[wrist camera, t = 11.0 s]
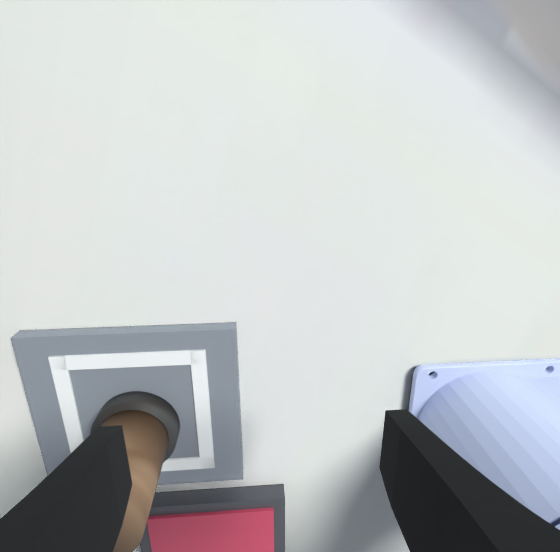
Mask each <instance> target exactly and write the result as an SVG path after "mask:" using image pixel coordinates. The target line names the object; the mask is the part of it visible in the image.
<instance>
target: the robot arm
mask: <svg viewBox="0 0 560 552" xmlns="http://www.w3.org/2000/svg"><path fill="white" fill-rule="evenodd" d="M547 367H548V368H547ZM546 368H547V369H546ZM433 371H434V373H433V374H432V375H429V373H431V372H433ZM380 471H381V474H382V478H383V481H384V485H385V488H386V491H387V495H388V498H389V501H390V504H391V507H392V509H393V512H394V514H395V517H396V519H397V522H398V524H399V526H400V529H401V531H402V533H403V536H404V538H405V541H406V543H407V545H408V548H409V550H410V552H560V358H556V359H535V360H514V361H493V362H472V363H451V364H429V365H420V366H418V367H416V369H415V370H414V372H413V380H412V387H411V395H410V403H409V411H408V410H407V409H406V410H387V411H386V412H385V421H384V431H383V440H382V450H381V459H380ZM131 488H132V479H131V473H130V467H129V462H128V456H127V450H126V445H125V439H124V433H123V427H122V425H117V426H99V427H98V428H97V429H96V430H95V431H93V432H92V433H91V434H90V435H89V436H88V437H87V438H86V439H85V440H84V441H83V442H82V443H81V444H80V445H79V446H78V447H77V448H76V449H75V450H74V451H73V452H72V453H71V454H70V455H69V456H68V457H67V458H66V459H65V460H64V461H63V462H62V463H61V464H60V465H59V466H58V467H57V468H55V469H54V470H53V471H52V472H51V473H50V474H49V475H48V476H47V477H46V478H45V479H44V480H43V481H42V482H41V483H40V484H39V485H38V486H37V487H36V488H34V489H33V490H32V491H31V492H30V493H29V494H28V495H27V496H26V497H25V498H24V499H22V500H21V501H20V502H19V503H18V504H17V505H16V506H15V507H13V508H12V509H11V510H10V511H9V512H8V513H7V514H6V515H4V516H3V517H2V518H1V519H0V552H113V550H114V547H115V544H116V542H117V539H118V536H119V533H120V530H121V527H122V524H123V520H124V517H125V513H126V509H127V505H128V501H129V496H130V492H131Z"/></svg>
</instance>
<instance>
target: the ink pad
mask: <svg viewBox="0 0 560 552" xmlns="http://www.w3.org/2000/svg"><path fill="white" fill-rule="evenodd" d="M140 544H141V550H142V552H285V496H284V485H283V484H279V485H264V486H249V487H235V488H220V489H205V490H191V491H176V492H161V493H155V494H154V498H153V502H152V505H151V509H150V512H149V516H148V520H147V523H146V527H145V531H144V534H143V538H142V540H141V542H140Z"/></svg>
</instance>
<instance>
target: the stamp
mask: <svg viewBox="0 0 560 552" xmlns="http://www.w3.org/2000/svg"><path fill="white" fill-rule="evenodd" d="M117 425H122V427H123V433H124V439H125V445H126V450H127V456H128V462H129V467H130V473H131V479H132V488H131V492H130V496H129V501H128V505H127V509H126V513H125V517H124V520H123V524H122V527H121V530H120V533H119V536H118V539H117V542H116V544H115V547H114V550H113V552H132V551H134V550H135V549H136V548H137V547H138V545H139V544H140V542H141V540H142V538H143V534H144V531H145V527H146V523H147V520H148V516H149V512H150V509H151V505H152V502H153V498H154V494H155V491H156V487H157V483H158V480H159V476H160V473H161V469H162V465H163V463H164V462H165V461H166V460H167V459H168V458H169V457H170V456H171V455H172V453H173V451H174V449H175V446H176V443H177V439H178V435H179V430H180V421H179V417H178V414H177V412H176V411H175V409H174V408H173V407H172V405H171V404H170V403H168V402H167V401H166V400H165V399H163V398H161V397H159V396H157V395H155V394H152V393H148V392H142V391H131V392H125V393H122V394H119V395H116V396H114V397H113V398H111V399H110V400H108V401H107V402H106V403H105V404H104V406H103V407H102V408H101V410H100V412H99V414H98V415H97V417H96V419H95V421H94V422H93V425H92V427H91V431H90V434H91V433H92V432H93V431H95V430H96V429H97V428H98V427H99V426H117Z"/></svg>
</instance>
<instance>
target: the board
mask: <svg viewBox="0 0 560 552" xmlns="http://www.w3.org/2000/svg"><path fill="white" fill-rule="evenodd" d="M11 341H12V345H13V349H14V352H15V356H16V360H17V364H18V367H19V371H20V375H21V378H22V382H23V386H24V390H25V393H26V397H27V401H28V404H29V408H30V412H31V416H32V419H33V423H34V427H35V430H36V434H37V438H38V442H39V445H40V449H41V453H42V456H43V460H44V464H45V468H46V471H47V475H49V474H50V473H51V472H52V471H53V470H54V469H55V468H57V467H58V466H59V465H60V464H61V463H62V462H63V461H64V460H65V459H66V458H67V457H68V456H69V455H70V454H71V453H72V452H73V451H74V450H75V449H76V448H77V447H78V446H79V445H80V444H81V443H82V442H83V441H84V440H85V439H86V438H87V437H88V436H89V435H90V431H91V427H92V425H93V422H94V421H95V419H96V417H97V415H98V414H99V412H100V410H101V408H102V407H103V406H104V404H105V403H106V402H107V401H108V400H110V399H111V398H113V397H114V396H116V395H119V394H122V393H125V392H131V391H142V392H148V393H152V394H155V395H157V396H159V397H161V398H163V399H165V400H166V401H167V402H168V403H170V404H171V405H172V407H173V408H174V409H175V411H176V412H177V414H178V417H179V421H180V430H179V435H178V439H177V443H176V446H175V449H174V451H173V453H172V455H171V456H170V457H169V458H168V459H167V460H166V461H165V462H164V463H163V465H162V469H161V473H160V476H159V480H158V483H157V485H164V484H179V483H194V482H209V481H224V480H239V479H243V456H242V435H241V414H240V393H239V372H238V351H237V331H236V322H232V323H206V324H179V325H153V326H126V327H100V328H73V329H47V330H20V331H19V332H18V333H16V334H15V335H14V336H13V337H11Z"/></svg>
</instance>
